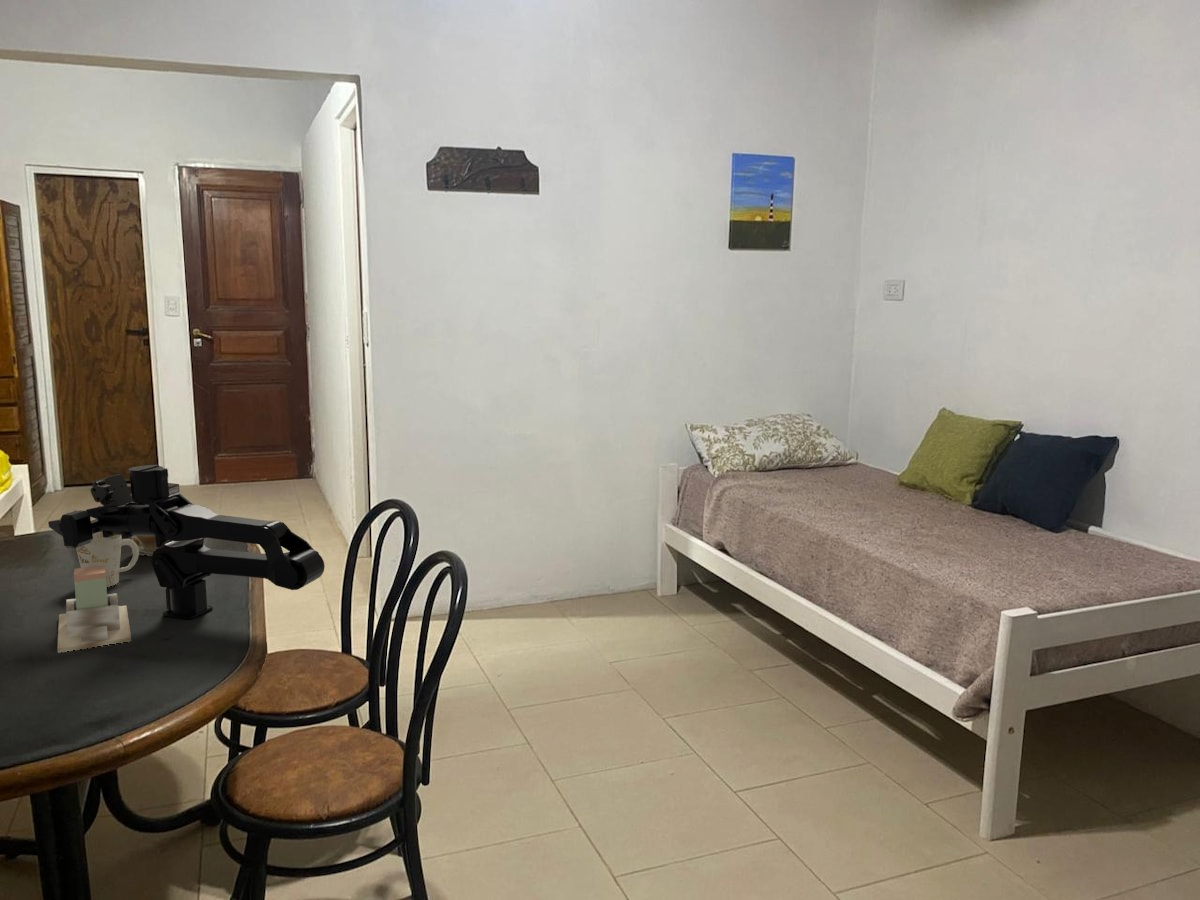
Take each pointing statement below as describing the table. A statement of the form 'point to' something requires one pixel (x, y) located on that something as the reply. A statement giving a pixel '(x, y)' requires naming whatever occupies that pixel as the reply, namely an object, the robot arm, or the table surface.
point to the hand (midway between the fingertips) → (68, 517)
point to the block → (90, 587)
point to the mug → (106, 555)
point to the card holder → (93, 626)
